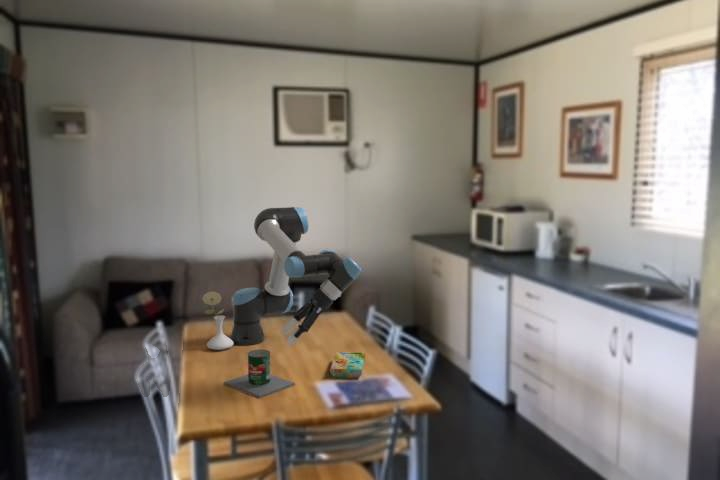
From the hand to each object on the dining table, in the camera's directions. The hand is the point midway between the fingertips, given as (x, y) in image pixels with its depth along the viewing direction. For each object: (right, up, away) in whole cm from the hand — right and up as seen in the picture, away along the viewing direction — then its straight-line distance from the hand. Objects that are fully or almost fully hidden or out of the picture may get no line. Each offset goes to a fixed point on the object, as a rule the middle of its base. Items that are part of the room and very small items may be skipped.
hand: (285, 337), depth 208 cm
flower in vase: (-35, -12, +44) cm, 57 cm away
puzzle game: (+22, -15, +16) cm, 31 cm away
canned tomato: (-9, -16, -1) cm, 19 cm away
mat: (-9, -17, 0) cm, 19 cm away
